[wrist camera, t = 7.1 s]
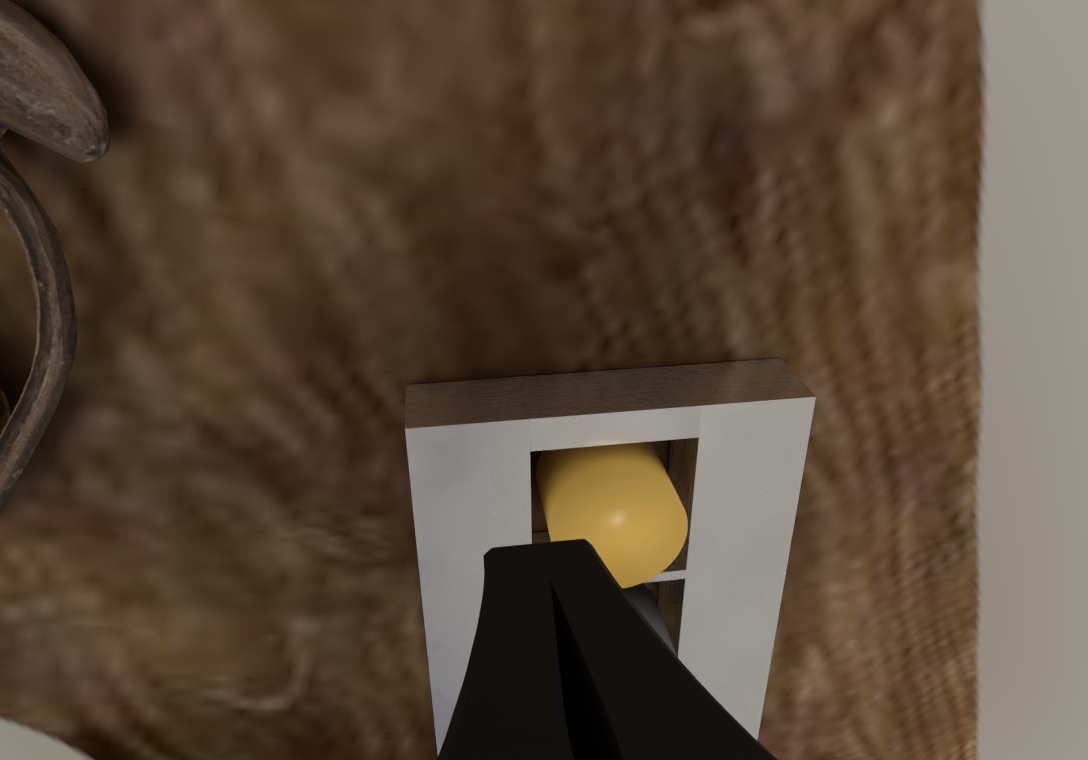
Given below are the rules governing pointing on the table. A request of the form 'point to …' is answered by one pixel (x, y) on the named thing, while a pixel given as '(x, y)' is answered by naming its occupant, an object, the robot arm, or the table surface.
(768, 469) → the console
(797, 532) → the table surface
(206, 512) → the table surface
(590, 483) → the amber button
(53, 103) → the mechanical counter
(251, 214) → the table surface
